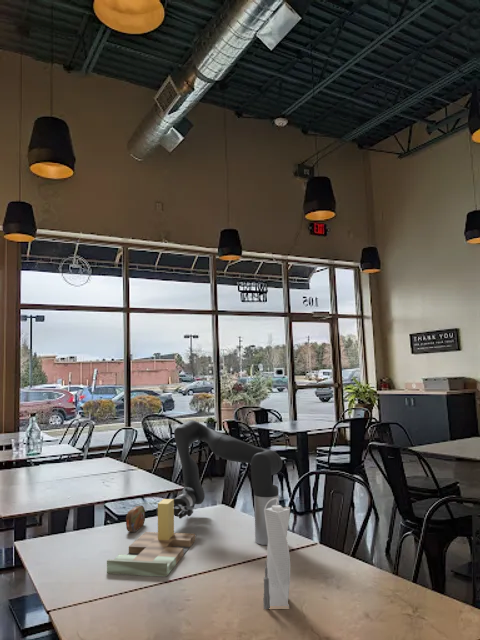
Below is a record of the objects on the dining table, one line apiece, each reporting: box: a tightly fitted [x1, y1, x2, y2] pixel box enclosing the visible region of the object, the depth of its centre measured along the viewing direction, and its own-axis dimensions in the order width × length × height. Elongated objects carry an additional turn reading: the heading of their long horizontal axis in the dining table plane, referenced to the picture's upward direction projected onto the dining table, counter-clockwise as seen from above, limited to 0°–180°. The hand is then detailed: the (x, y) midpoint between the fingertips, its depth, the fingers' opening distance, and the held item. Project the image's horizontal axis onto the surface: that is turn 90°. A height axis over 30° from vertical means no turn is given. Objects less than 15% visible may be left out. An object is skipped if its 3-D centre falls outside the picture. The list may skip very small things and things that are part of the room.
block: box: [157, 498, 175, 540], centre depth 197 cm, size 7×4×13 cm, turn 170°
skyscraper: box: [262, 497, 291, 610], centre depth 146 cm, size 8×8×28 cm
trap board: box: [106, 531, 196, 578], centre depth 184 cm, size 35×20×4 cm, turn 170°
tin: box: [125, 505, 146, 533], centre depth 216 cm, size 15×3×8 cm, turn 168°
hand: (169, 515), depth 203 cm, fingers open, 8 cm apart
